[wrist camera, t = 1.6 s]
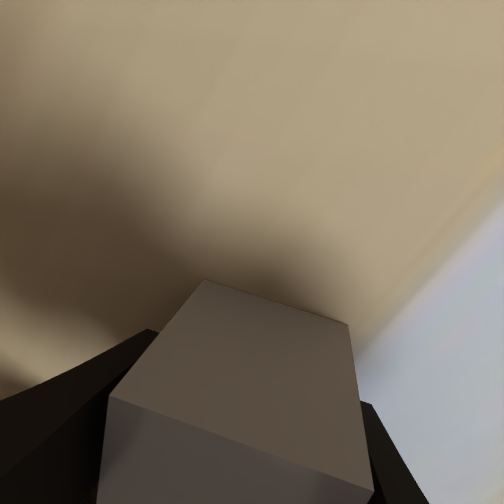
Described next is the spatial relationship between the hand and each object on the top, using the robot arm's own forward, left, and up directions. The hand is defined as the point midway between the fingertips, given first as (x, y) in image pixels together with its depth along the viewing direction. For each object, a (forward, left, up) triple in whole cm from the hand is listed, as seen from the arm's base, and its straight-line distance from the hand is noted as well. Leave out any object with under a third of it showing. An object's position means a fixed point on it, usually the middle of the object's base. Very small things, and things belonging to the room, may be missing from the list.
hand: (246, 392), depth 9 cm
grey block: (0, 0, -2) cm, 2 cm away
